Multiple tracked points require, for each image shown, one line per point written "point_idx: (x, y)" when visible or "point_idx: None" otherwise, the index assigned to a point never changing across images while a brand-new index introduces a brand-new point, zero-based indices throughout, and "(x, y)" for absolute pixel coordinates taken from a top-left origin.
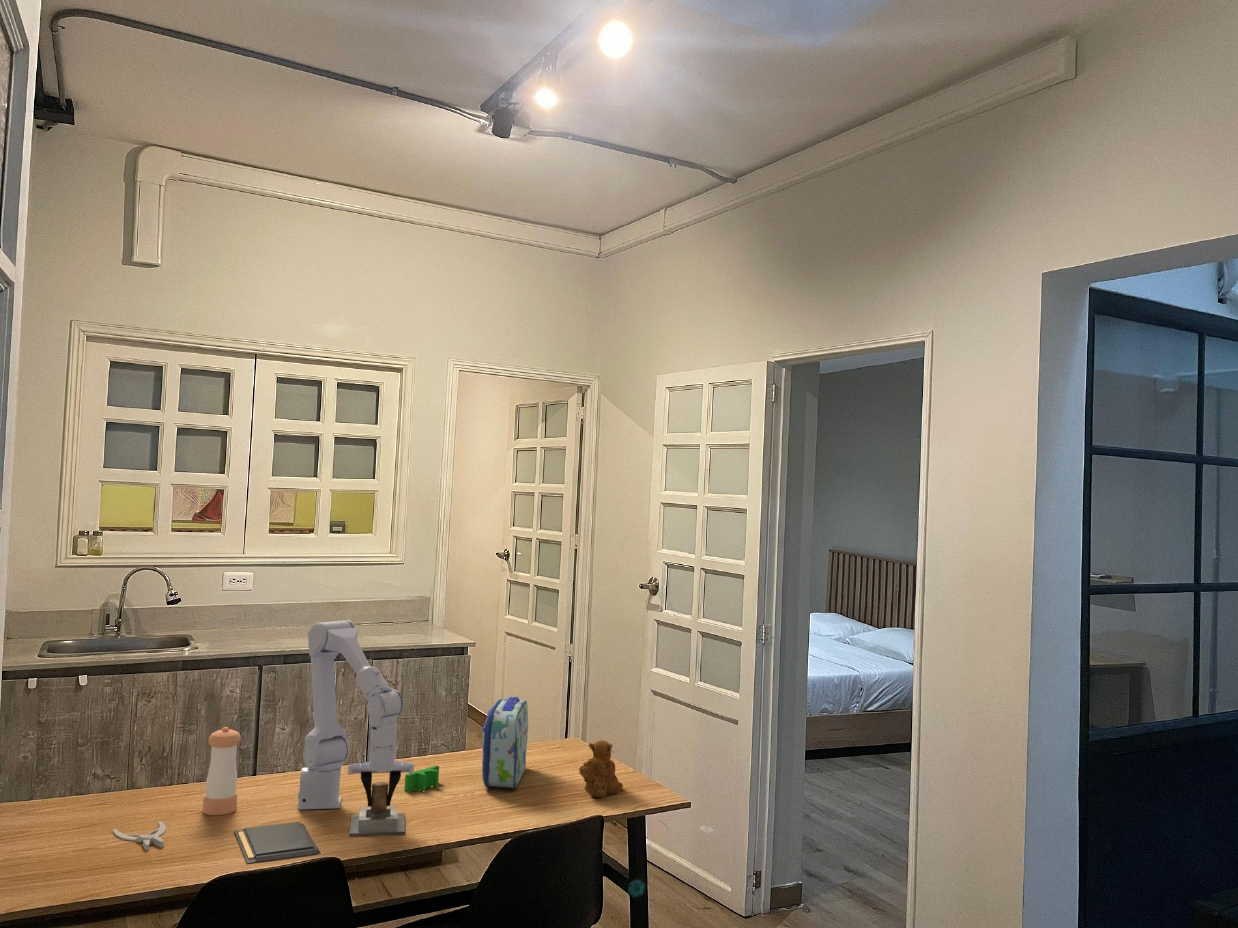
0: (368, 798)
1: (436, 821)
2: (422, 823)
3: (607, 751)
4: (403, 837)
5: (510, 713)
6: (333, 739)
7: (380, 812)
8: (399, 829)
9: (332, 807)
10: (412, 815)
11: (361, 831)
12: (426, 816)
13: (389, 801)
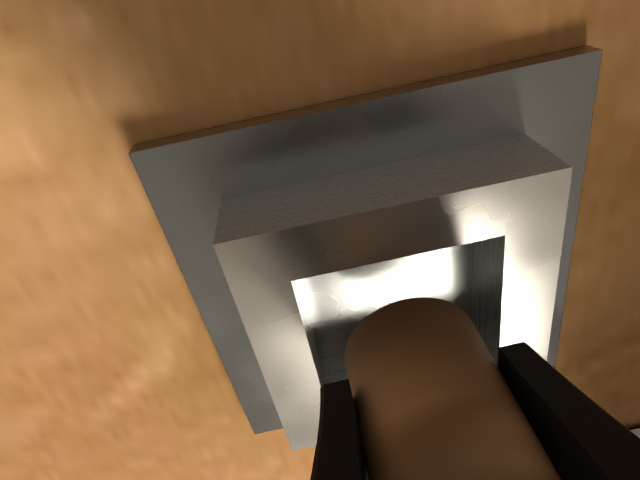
0: (575, 399)
1: (17, 383)
2: (93, 344)
3: None
4: (114, 63)
5: None
6: None
7: (390, 311)
8: (193, 189)
9: (636, 432)
10: (207, 429)
11: (498, 108)
12: (120, 431)
13: (331, 414)
